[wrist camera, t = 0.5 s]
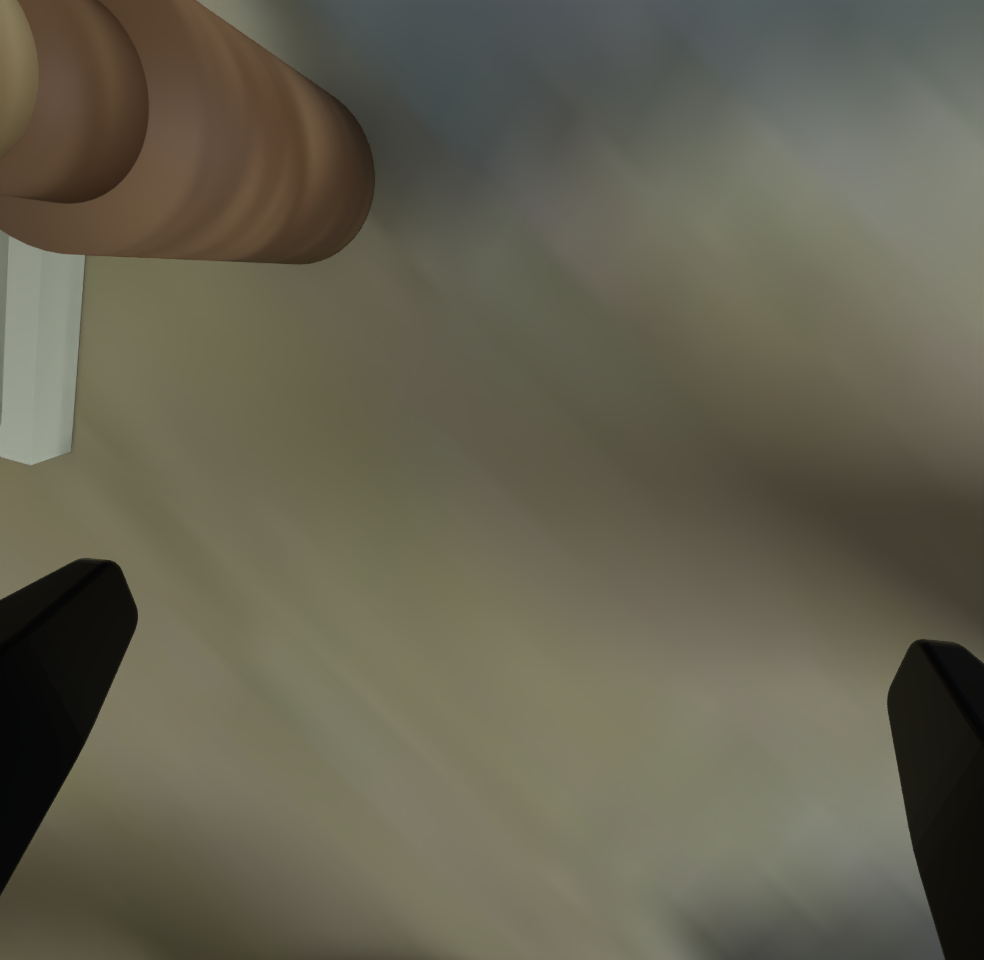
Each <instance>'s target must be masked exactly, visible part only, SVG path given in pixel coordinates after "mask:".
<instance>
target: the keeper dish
mask: <svg viewBox="0 0 984 960" xmlns="http://www.w3.org/2000/svg"><path fill="white" fill-rule="evenodd" d="M84 264H85V255H70V254H59V253H54V252H49V251H44V250H41V249H38V248H35V247H32V246H30V245H27V244H25V243H23V242H21V241H19V240H17V239H15V238H13V237H11V236H9V235H8V234H6V233H5V232H3V231H2V230H0V457H3V458H7V459H10V460H14V461H17V462H21V463H24V464H28V465H33V464H36V463H39V462H42V461H45V460H48V459H50V458H53V457H56V456H59V455H62V454H65V453H68V452H71V444H72V430H73V416H74V402H75V388H76V375H77V361H78V347H79V333H80V319H81V305H82V291H83V277H84Z"/></svg>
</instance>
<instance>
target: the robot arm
mask: <svg viewBox="0 0 984 960" xmlns="http://www.w3.org/2000/svg"><path fill="white" fill-rule="evenodd" d="M137 621H138V611H137V607H136V604H135V601H134V599H133V596H132V594H131V592H130V589H129V587H128V584H127V582H126V579H125V577H124V574H123V572H122V570H121V568H120V566H119V565H118V564H116V563H115V562H113V561H111V560H101V559H91V558H82V559H78V560H75V561H73V562H71V563H69V564H67V565H66V566H64V567H62V568H60V569H58V570H56V571H54V572H52V573H50V574H49V575H47V576H45V577H43V578H41V579H39V580H37V581H35V582H33V583H31V584H30V585H28V586H26V587H24V588H22V589H20V590H18V591H16V592H14V593H13V594H11V595H9V596H7V597H5V598H3V599H1V600H0V895H1V894H2V892H3V890H4V888H5V887H6V885H7V883H8V881H9V879H10V878H11V876H12V874H13V872H14V870H15V869H16V867H17V865H18V863H19V862H20V860H21V858H22V856H23V854H24V853H25V851H26V849H27V847H28V845H29V844H30V842H31V840H32V838H33V837H34V835H35V833H36V831H37V829H38V828H39V826H40V824H41V822H42V821H43V819H44V817H45V815H46V813H47V812H48V810H49V808H50V806H51V804H52V803H53V801H54V799H55V797H56V796H57V794H58V792H59V790H60V788H61V787H62V785H63V783H64V781H65V779H66V778H67V776H68V774H69V772H70V771H71V769H72V767H73V765H74V763H75V762H76V760H77V758H78V756H79V754H80V752H81V750H82V748H83V746H84V745H85V743H86V740H87V738H88V736H89V734H90V732H91V730H92V728H93V726H94V724H95V721H96V719H97V717H98V714H99V712H100V710H101V707H102V705H103V703H104V701H105V698H106V696H107V694H108V691H109V689H110V687H111V685H112V682H113V680H114V678H115V675H116V673H117V671H118V668H119V666H120V664H121V662H122V659H123V657H124V655H125V652H126V650H127V648H128V646H129V643H130V641H131V639H132V636H133V634H134V632H135V629H136V626H137ZM887 708H888V715H889V721H890V726H891V732H892V737H893V743H894V749H895V754H896V760H897V765H898V771H899V777H900V782H901V788H902V793H903V799H904V805H905V810H906V816H907V821H908V827H909V832H910V837H911V841H912V846H913V851H914V855H915V858H916V862H917V866H918V869H919V873H920V877H921V880H922V883H923V887H924V890H925V894H926V897H927V900H928V904H929V907H930V910H931V914H932V917H933V920H934V924H935V927H936V931H937V934H938V937H939V941H940V944H941V947H942V951H943V954H944V958H945V960H984V663H982V662H981V661H980V660H979V659H978V658H977V657H975V656H974V655H973V654H972V653H971V652H970V651H968V650H967V649H966V648H964V647H963V646H961V645H960V644H957V643H954V642H946V641H936V640H926V639H920V640H916V641H915V642H913V643H912V644H911V645H910V647H909V648H908V650H907V652H906V655H905V657H904V659H903V661H902V663H901V665H900V667H899V669H898V671H897V673H896V675H895V677H894V679H893V681H892V684H891V686H890V688H889V692H888V698H887Z"/></svg>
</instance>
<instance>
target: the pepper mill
mask: <svg viewBox="0 0 984 960" xmlns="http://www.w3.org/2000/svg"><path fill="white" fill-rule="evenodd" d="M374 185H375V172H374V163H373V158H372V153H371V149H370V146H369V144H368V141H367V138H366V136H365V134H364V132H363V130H362V128H361V126H360V124H359V123H358V121H357V120H356V118H355V117H354V116H353V114H352V113H351V112H350V111H349V110H348V109H347V108H346V106H344V105H343V104H342V103H341V102H340V101H339V100H338V99H336V98H335V97H334V96H332V95H331V94H329V93H328V92H326V91H325V90H324V89H322V88H321V87H319V86H318V85H316V84H315V83H314V82H312V81H311V80H309V79H308V78H306V77H305V76H303V75H302V74H301V73H299V72H298V71H296V70H295V69H293V68H292V67H291V66H289V65H288V64H286V63H285V62H283V61H282V60H281V59H279V58H278V57H276V56H275V55H273V54H272V53H271V52H269V51H268V50H266V49H265V48H263V47H262V46H260V45H259V44H258V43H256V42H255V41H253V40H252V39H250V38H249V37H248V36H246V35H245V34H243V33H242V32H240V31H239V30H238V29H236V28H235V27H233V26H232V25H230V24H229V23H227V22H226V21H225V20H223V19H222V18H220V17H219V16H217V15H216V14H215V13H213V12H212V11H210V10H209V9H207V8H206V7H205V6H203V5H202V4H200V3H199V2H197V1H196V0H0V230H2V231H3V232H5V233H6V234H8V235H9V236H11V237H13V238H15V239H17V240H19V241H21V242H23V243H25V244H27V245H30V246H32V247H35V248H38V249H41V250H44V251H49V252H54V253H59V254H70V255H92V256H115V257H139V258H162V259H186V260H209V261H233V262H256V263H280V264H309V263H314V262H318V261H321V260H324V259H326V258H329V257H331V256H332V255H334V254H336V253H338V252H339V251H340V250H342V249H343V248H344V247H345V246H347V245H348V244H349V243H350V242H351V241H352V239H353V238H354V237H355V236H356V235H357V233H358V232H359V230H360V229H361V227H362V226H363V224H364V222H365V220H366V218H367V215H368V213H369V210H370V207H371V203H372V199H373V193H374Z"/></svg>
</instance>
